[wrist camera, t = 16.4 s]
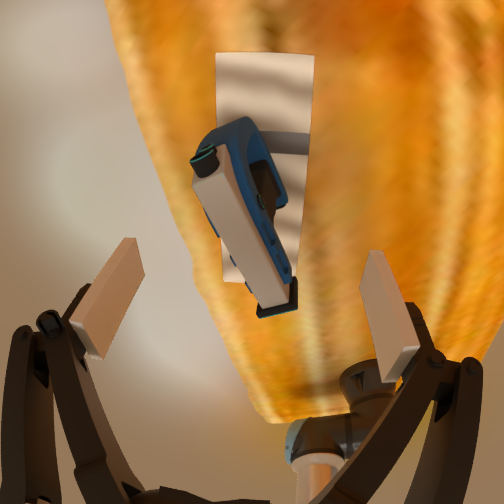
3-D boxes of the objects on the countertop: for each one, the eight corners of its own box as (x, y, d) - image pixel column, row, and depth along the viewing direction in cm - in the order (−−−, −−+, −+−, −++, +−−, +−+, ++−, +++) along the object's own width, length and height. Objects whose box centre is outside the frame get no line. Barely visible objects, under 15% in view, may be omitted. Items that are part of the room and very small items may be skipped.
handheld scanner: (265, 220, 44) (259, 324, 28) (216, 120, 35) (169, 172, 20) (294, 211, 42) (306, 312, 26) (249, 106, 34) (228, 145, 18)
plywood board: (293, 281, 51) (294, 286, 50) (224, 277, 52) (223, 281, 51) (313, 55, 31) (314, 55, 30) (217, 53, 31) (215, 52, 30)
